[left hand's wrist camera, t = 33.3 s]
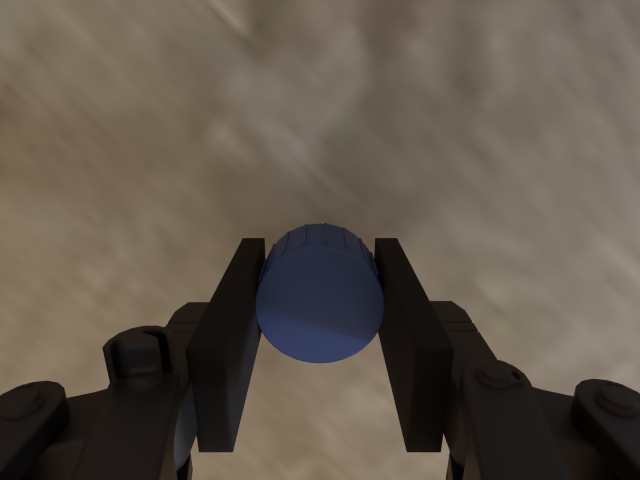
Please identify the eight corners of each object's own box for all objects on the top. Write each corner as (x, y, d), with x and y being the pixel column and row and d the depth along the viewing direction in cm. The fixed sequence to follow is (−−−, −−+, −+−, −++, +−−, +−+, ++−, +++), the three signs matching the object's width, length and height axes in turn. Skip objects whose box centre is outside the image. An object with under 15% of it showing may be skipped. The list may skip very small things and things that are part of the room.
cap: (309, 343, 16) (307, 385, 13) (239, 265, 14) (224, 297, 12) (398, 285, 15) (412, 320, 12) (331, 198, 14) (333, 219, 11)
